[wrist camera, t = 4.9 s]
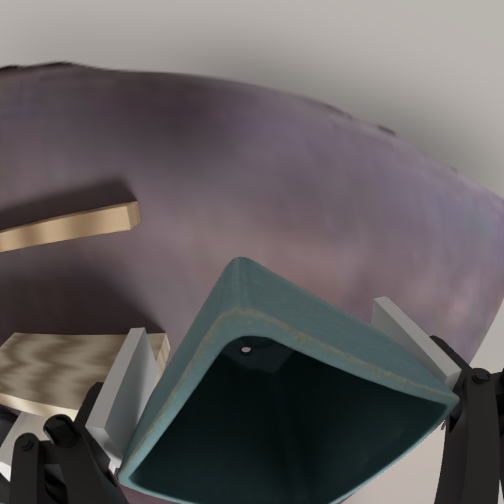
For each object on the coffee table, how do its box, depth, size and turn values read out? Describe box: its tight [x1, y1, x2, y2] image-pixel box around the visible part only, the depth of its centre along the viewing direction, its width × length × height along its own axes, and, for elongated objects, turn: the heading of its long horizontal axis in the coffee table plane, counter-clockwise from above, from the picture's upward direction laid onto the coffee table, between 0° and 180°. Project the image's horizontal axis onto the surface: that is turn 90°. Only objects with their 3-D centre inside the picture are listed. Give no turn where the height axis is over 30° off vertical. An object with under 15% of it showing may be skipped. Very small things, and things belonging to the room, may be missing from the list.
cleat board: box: [0, 201, 170, 422], centre depth 21 cm, size 24×16×12 cm, turn 96°
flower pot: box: [117, 257, 460, 504], centre depth 11 cm, size 9×9×9 cm
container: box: [0, 411, 116, 482], centre depth 24 cm, size 14×14×18 cm
